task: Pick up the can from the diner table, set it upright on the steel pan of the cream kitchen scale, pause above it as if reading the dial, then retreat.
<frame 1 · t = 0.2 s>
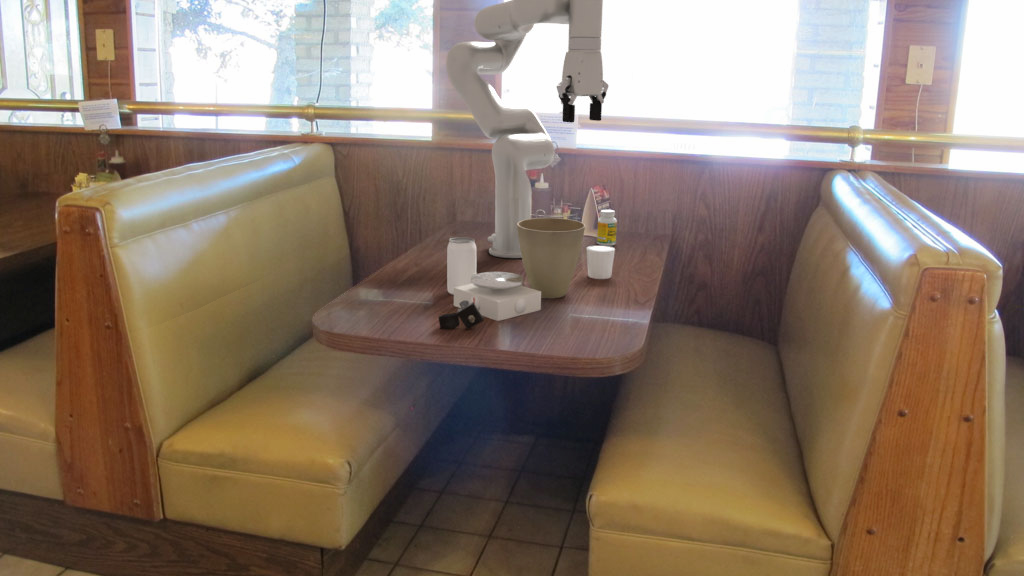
hand: (582, 121, 199), 37 cm above the table, tool pointing down, fingers open, 9 cm apart
plant pot: (549, 295, 188), on the table
scale pan: (497, 282, 176), point 6 cm above the table, slide at 0.4 cm
supplement bottle: (606, 244, 240), on the table
scale housing: (497, 307, 177), on the table
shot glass: (599, 276, 204), on the table
lighter: (461, 330, 163), on the table
can: (461, 293, 188), on the table
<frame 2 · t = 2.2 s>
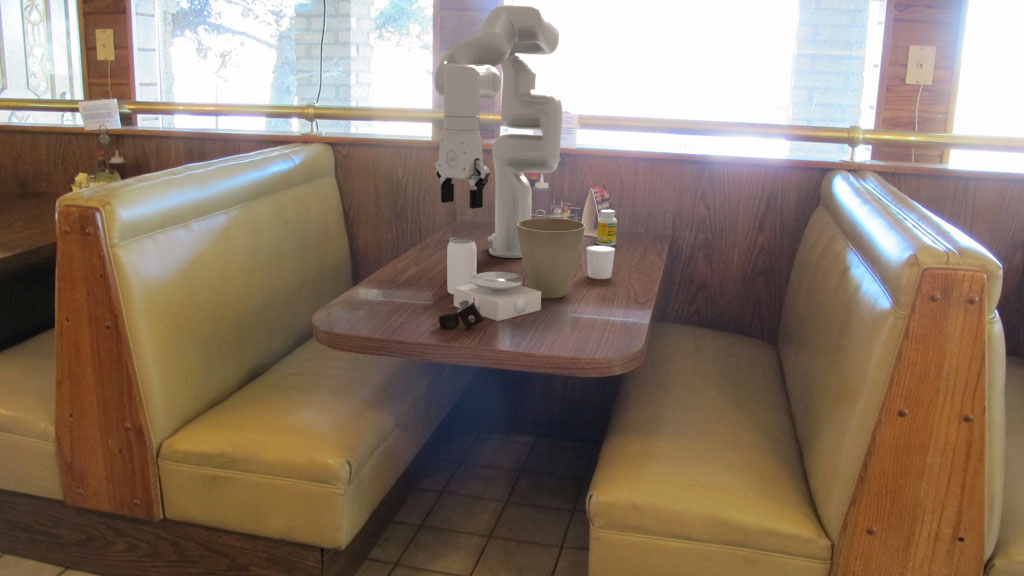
hand: (461, 204, 183), 20 cm above the table, tool pointing down, fingers open, 9 cm apart
nothing on the table moved.
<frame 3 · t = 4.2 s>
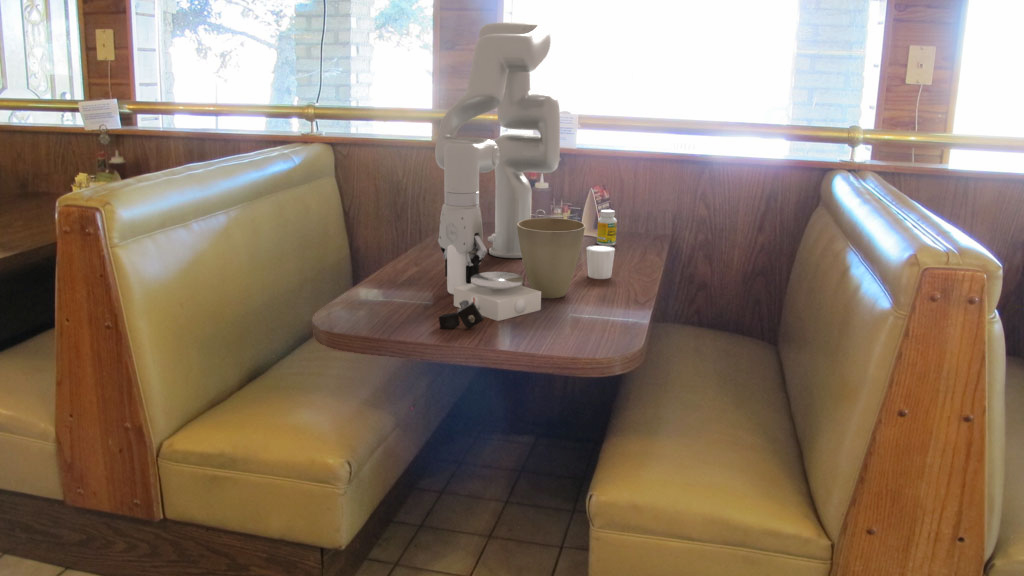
hand: (461, 278, 187), 3 cm above the table, tool pointing down, fingers closed on can, 6 cm apart
can: (461, 293, 188), on the table, touching gripper
everything else where it was.
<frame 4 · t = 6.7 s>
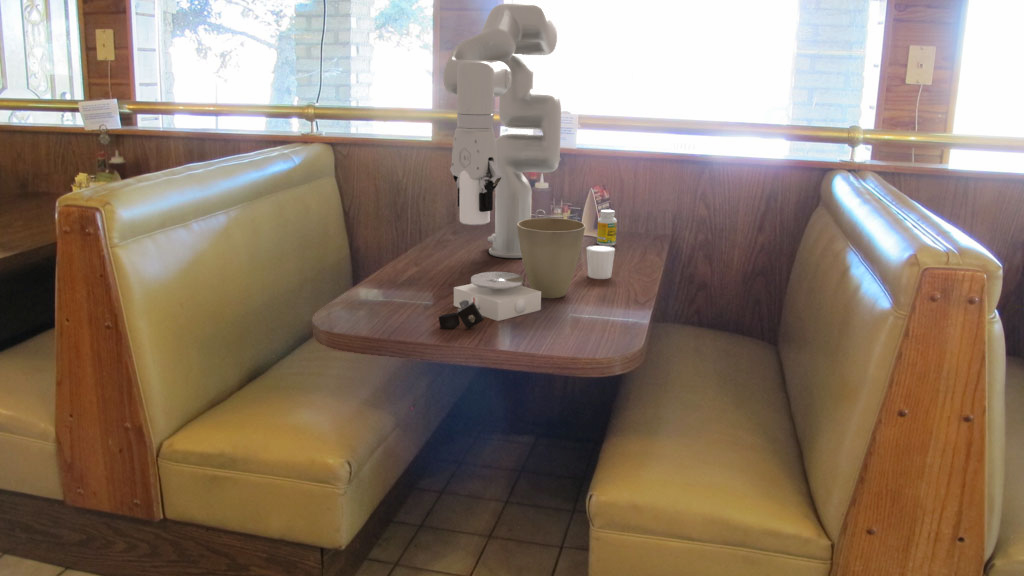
hand: (475, 207, 179), 20 cm above the table, tool pointing down, fingers closed on can, 6 cm apart
can: (474, 223, 180), point 17 cm above the table, touching gripper
everything else where it was.
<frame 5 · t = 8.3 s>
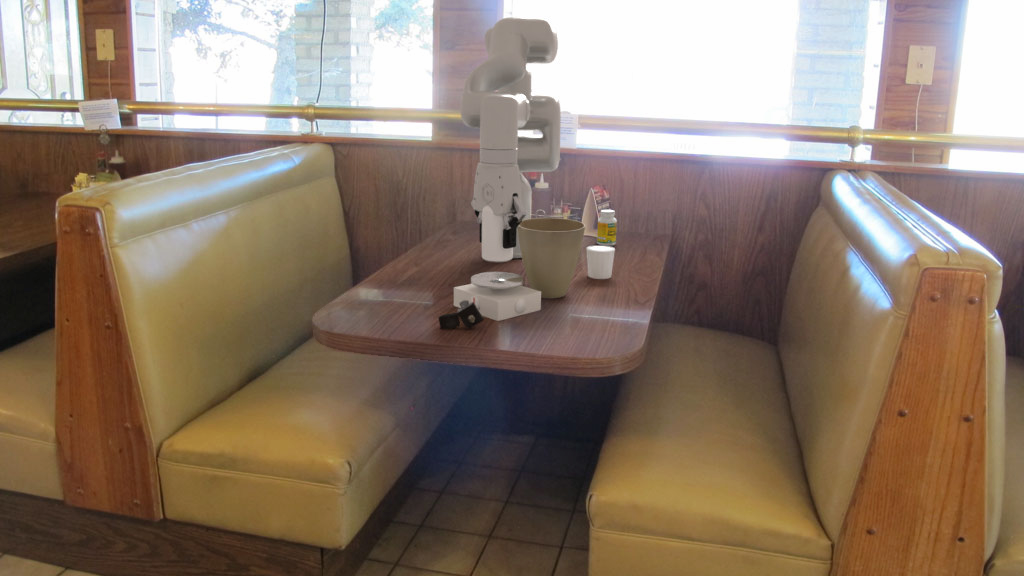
hand: (497, 244, 173), 14 cm above the table, tool pointing down, fingers closed on can, 6 cm apart
can: (497, 260, 174), point 10 cm above the table, touching gripper
everything else where it was.
when the fingers open (11 cm above the table, at t = 9.3 s): can drops 2 cm, resting on scale pan.
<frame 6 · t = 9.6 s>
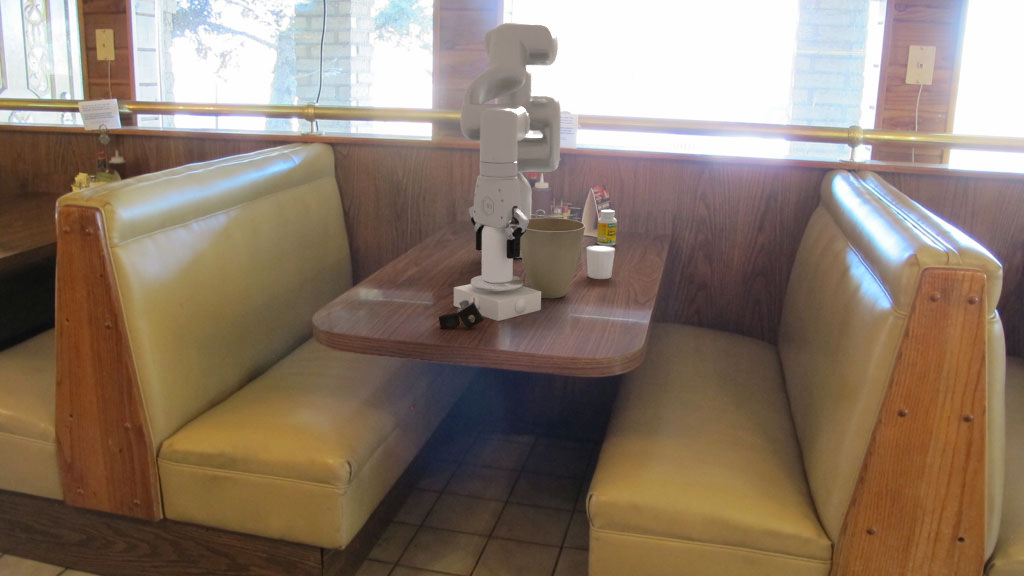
hand: (497, 253, 174), 12 cm above the table, tool pointing down, fingers open, 9 cm apart
scale pan: (497, 284, 176), point 5 cm above the table, slide at 0.9 cm, touching can
can: (497, 281, 176), point 6 cm above the table, touching scale pan
everything else where it was.
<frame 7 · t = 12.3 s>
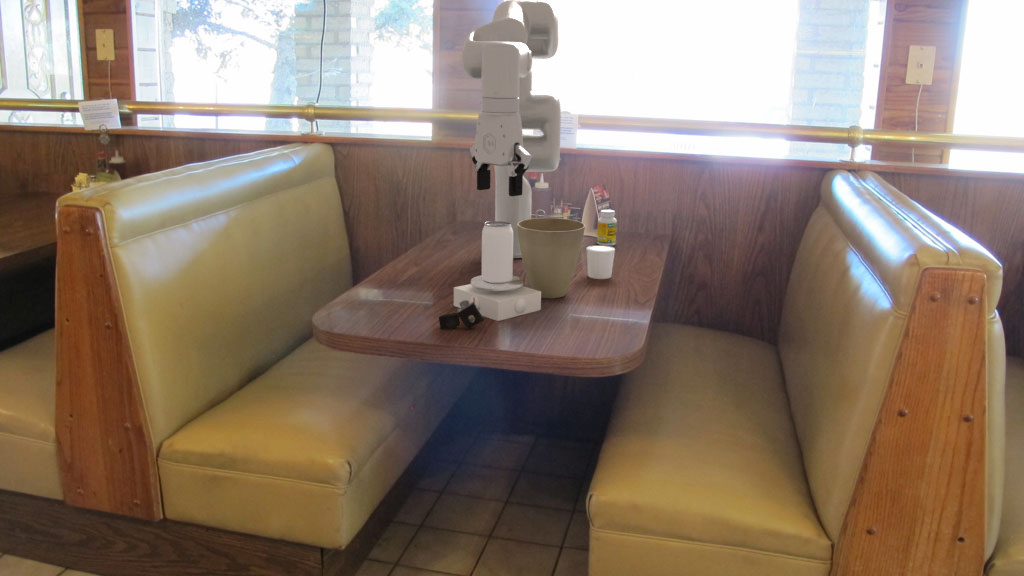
hand: (499, 192, 172), 24 cm above the table, tool pointing down, fingers open, 9 cm apart
nothing on the table moved.
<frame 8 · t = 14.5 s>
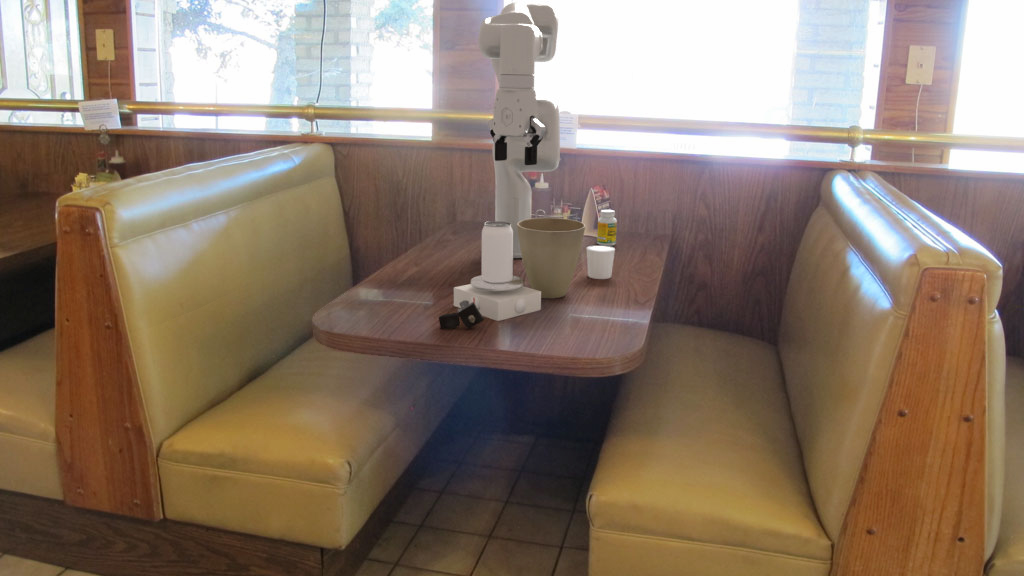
hand: (515, 162, 187), 28 cm above the table, tool pointing down, fingers open, 9 cm apart
nothing on the table moved.
at the end: can 0.2 cm off-centre on the scale housing, point 5.7 cm above the scale housing's base; can tilted 0°; can touching scale pan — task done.
